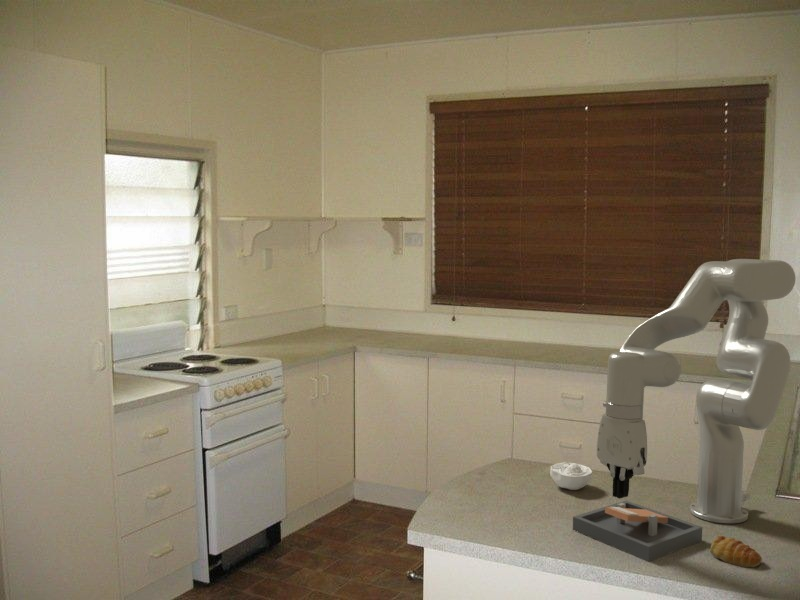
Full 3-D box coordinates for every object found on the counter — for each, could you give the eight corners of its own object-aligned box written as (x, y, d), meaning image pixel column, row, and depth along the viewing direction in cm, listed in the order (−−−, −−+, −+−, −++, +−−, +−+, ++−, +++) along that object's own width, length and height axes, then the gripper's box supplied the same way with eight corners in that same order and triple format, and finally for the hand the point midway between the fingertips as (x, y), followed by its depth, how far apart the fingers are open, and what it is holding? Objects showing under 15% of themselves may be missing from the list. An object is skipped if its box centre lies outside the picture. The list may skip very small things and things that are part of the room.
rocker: (643, 514, 176) (644, 507, 176) (668, 523, 171) (669, 516, 171) (603, 512, 168) (604, 505, 168) (628, 521, 162) (629, 514, 163)
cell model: (580, 479, 208) (581, 454, 207) (598, 494, 196) (598, 468, 195) (543, 480, 206) (544, 455, 206) (559, 496, 194) (559, 469, 194)
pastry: (767, 563, 156) (768, 544, 156) (751, 573, 152) (752, 554, 151) (723, 548, 163) (723, 530, 163) (706, 557, 159) (706, 539, 159)
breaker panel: (625, 512, 183) (626, 489, 182) (701, 540, 167) (702, 514, 166) (572, 529, 173) (573, 504, 172) (648, 561, 156) (649, 533, 156)
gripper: (584, 406, 168) (581, 489, 169) (642, 420, 156) (638, 510, 157) (607, 402, 172) (604, 484, 174) (665, 416, 160) (661, 503, 162)
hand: (620, 496), depth 166 cm, fingers closed
